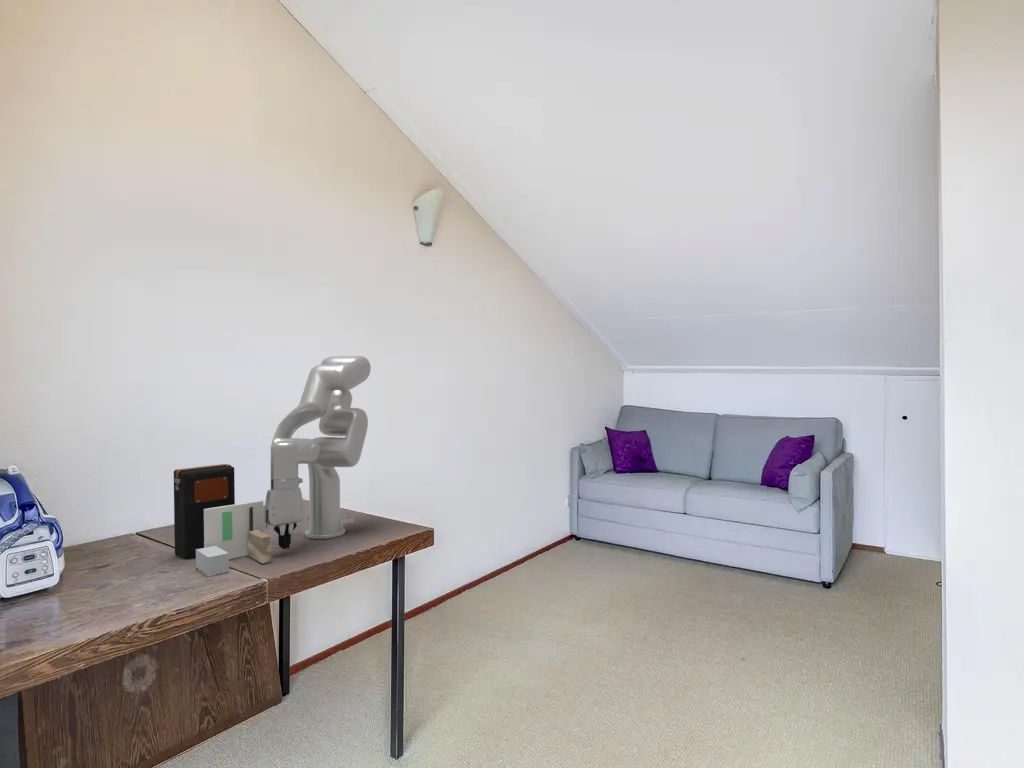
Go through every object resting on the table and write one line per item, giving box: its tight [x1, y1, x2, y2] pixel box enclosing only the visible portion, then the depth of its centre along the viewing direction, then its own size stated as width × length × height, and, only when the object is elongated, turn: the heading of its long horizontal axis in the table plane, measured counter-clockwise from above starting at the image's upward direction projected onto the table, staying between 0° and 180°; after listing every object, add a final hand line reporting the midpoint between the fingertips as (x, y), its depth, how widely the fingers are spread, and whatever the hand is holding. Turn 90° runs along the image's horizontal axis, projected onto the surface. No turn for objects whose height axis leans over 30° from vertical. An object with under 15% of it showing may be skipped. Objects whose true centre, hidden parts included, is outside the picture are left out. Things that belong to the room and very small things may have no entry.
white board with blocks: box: [195, 500, 265, 577], centre depth 166 cm, size 19×13×15 cm
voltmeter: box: [173, 463, 236, 559], centre depth 177 cm, size 16×9×25 cm, turn 141°
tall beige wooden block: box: [247, 507, 272, 565], centre depth 169 cm, size 2×11×14 cm, turn 44°
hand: (284, 547), depth 174 cm, fingers closed
